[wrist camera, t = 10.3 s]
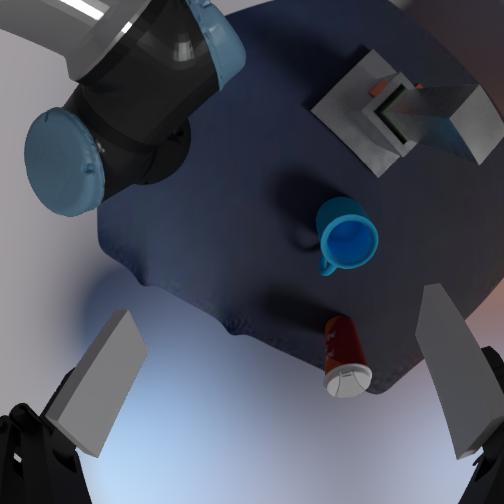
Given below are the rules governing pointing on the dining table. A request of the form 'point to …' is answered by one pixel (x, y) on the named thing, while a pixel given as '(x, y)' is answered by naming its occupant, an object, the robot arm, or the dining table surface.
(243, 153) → the dining table surface
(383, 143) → the stand base
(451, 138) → the column
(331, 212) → the mug
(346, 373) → the coffee cup
